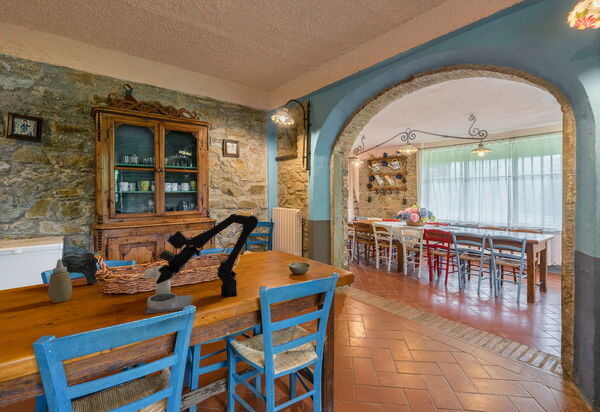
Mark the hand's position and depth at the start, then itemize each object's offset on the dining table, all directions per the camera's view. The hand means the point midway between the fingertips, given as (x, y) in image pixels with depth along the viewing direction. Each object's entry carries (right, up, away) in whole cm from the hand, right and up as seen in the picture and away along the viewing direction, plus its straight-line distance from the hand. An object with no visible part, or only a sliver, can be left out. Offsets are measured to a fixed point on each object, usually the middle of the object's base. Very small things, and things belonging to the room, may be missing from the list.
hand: (159, 281), depth 127 cm
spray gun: (-51, -7, +18) cm, 54 cm away
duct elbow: (-1, -7, 0) cm, 7 cm away
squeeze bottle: (-41, -7, -4) cm, 42 cm away
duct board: (+9, -7, -9) cm, 15 cm away
